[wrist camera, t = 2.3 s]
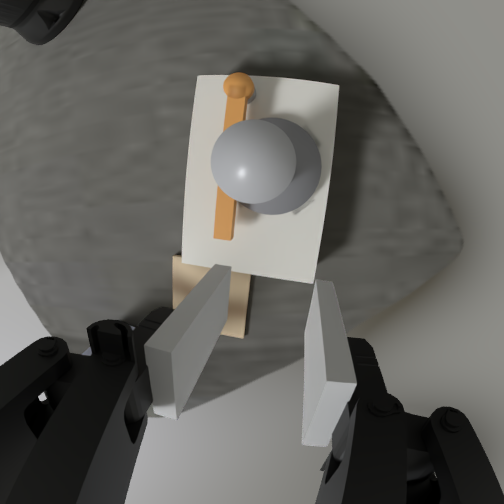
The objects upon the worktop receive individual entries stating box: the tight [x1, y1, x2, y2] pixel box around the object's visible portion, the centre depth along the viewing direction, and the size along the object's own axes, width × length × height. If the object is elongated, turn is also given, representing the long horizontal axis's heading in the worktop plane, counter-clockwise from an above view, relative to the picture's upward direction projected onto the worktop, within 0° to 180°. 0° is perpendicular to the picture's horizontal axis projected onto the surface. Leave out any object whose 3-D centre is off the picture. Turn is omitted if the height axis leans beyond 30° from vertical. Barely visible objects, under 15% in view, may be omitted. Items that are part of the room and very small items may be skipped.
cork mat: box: [173, 255, 251, 338], centre depth 36 cm, size 10×10×1 cm
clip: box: [213, 72, 255, 241], centre depth 24 cm, size 15×3×1 cm, turn 174°
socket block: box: [182, 75, 339, 284], centre depth 28 cm, size 20×14×6 cm
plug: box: [211, 117, 322, 215], centre depth 23 cm, size 9×9×17 cm
